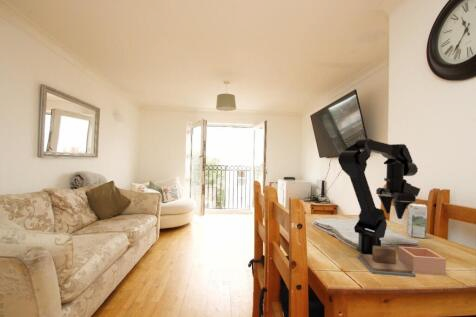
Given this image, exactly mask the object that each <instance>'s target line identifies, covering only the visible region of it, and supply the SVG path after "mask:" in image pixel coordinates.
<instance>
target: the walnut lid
mask: <svg viewBox="0 0 476 317" xmlns="http://www.w3.org/2000/svg"><path fill="white" fill-rule="evenodd" d="M358 256H360V258H361V259H362V260H363V261H364V262H365V263H366V264H367V265H368V266H369V267H370V268H371V269H372V270H373V271H385V272H397V273H410V274H412V270H410V269H409V268H408V267H407V266H405V265H404V264H403V263H401V262H400V261H399V260H398V258H397V249H396V248H395V247H394V246H382V245H381V246H373V255H370V254H362V253H359V255H358Z"/></svg>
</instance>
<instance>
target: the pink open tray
mask: <svg viewBox="0 0 476 317" xmlns="http://www.w3.org/2000/svg"><path fill="white" fill-rule="evenodd" d="M397 248H398V249H397V250H398V251H397V252H398V253H397V259H398V260H399V261H400V262H401V263H403V264H404V265H405V266H407V267H408V268H409V269H410V270H412V272H413V273H414V274H425V275H426V274H429V275H439V274H440V276H441V275H442V276H446V273H447V269H446V268H447V258H445V257H443V256H441V255H440V254H438V253H436V252H434V251H432V249H429V248H427V247H426V248H425V247H415V246H414V247H413V246H411V247H409V246H398V247H397Z"/></svg>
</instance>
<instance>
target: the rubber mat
mask: <svg viewBox="0 0 476 317" xmlns="http://www.w3.org/2000/svg"><path fill="white" fill-rule="evenodd" d="M357 259H358V260H359V261H360V262H361V263H362V264H363V266H364V267H366V269H368V271H369V272H370V273H371V274H379V275H391V276H392V275H393V276H400V277H401V276H402V277H403V276H404V277H414V278H416V273H413V272H412V274H410V273H397V272H385V271H373V270H372V269H371V268H370V267H369V266H368V265H367V264H366V263H365V262H364V261H363V260H362V259H361V258H360V256H359V255H357Z"/></svg>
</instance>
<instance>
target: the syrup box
mask: <svg viewBox="0 0 476 317" xmlns="http://www.w3.org/2000/svg"><path fill="white" fill-rule="evenodd" d="M407 207H408V209H407V211H408V212H407V213H408V214H407V228H406V229H407V230H406V231H407V235H409V236H410V238H415V239H416V238H418V239H427V227H428V226H427V224H428V223H427V222H428V206H427V205H426V204H424V203H423V204H421V203H411V204H409V205H408V206H407Z"/></svg>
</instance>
